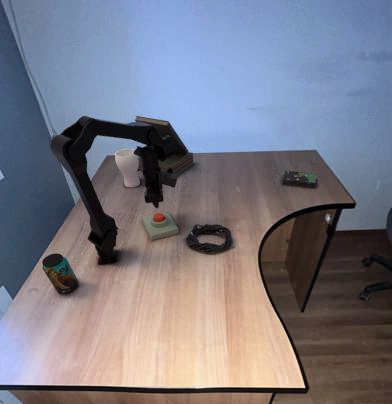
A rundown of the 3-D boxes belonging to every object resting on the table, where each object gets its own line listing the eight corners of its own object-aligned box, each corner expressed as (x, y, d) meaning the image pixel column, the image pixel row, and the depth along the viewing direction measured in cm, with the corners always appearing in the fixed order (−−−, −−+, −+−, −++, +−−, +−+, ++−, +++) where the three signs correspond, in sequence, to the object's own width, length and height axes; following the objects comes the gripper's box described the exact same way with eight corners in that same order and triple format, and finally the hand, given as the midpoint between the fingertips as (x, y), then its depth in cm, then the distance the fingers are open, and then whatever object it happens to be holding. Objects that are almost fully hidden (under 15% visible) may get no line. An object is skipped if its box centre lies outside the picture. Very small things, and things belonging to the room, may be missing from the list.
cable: (238, 238, 100) (239, 229, 97) (222, 260, 92) (223, 251, 88) (198, 226, 106) (197, 217, 103) (180, 246, 98) (179, 237, 94)
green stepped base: (178, 233, 103) (178, 224, 100) (151, 240, 101) (150, 231, 98) (168, 215, 112) (167, 206, 109) (142, 221, 110) (141, 213, 107)
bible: (193, 164, 146) (191, 112, 128) (173, 178, 135) (167, 123, 117) (160, 156, 155) (154, 106, 137) (138, 169, 144) (128, 117, 126)
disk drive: (282, 185, 127) (314, 188, 124) (283, 179, 125) (316, 182, 122) (283, 175, 134) (314, 178, 130) (285, 170, 132) (316, 172, 128)
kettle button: (165, 221, 103) (164, 217, 102) (155, 223, 102) (154, 219, 101) (162, 215, 106) (161, 211, 104) (152, 218, 105) (152, 214, 103)
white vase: (138, 189, 128) (132, 157, 117) (118, 188, 130) (110, 156, 119) (145, 179, 135) (140, 148, 124) (126, 178, 137) (119, 147, 126)
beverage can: (56, 298, 82) (38, 270, 73) (57, 282, 87) (40, 254, 78) (79, 292, 83) (64, 264, 75) (79, 277, 88) (65, 249, 79)
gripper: (176, 176, 83) (180, 219, 94) (172, 153, 95) (176, 193, 107) (140, 179, 82) (148, 222, 93) (141, 155, 95) (148, 196, 106)
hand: (157, 207), depth 100 cm, fingers closed
